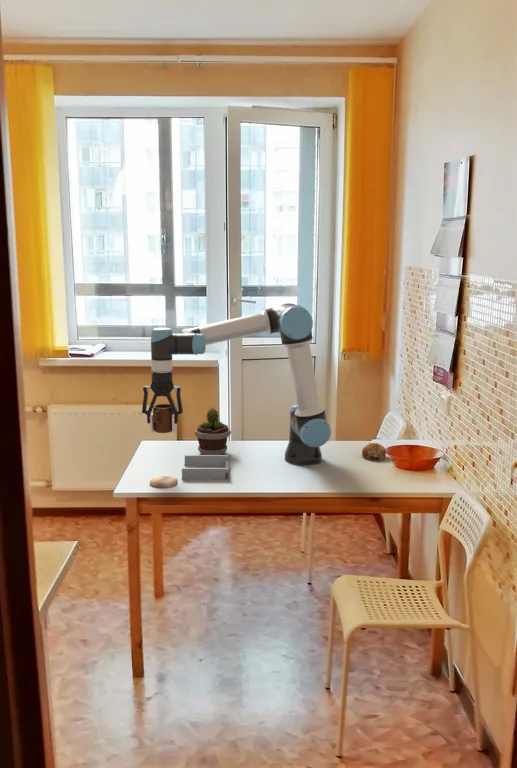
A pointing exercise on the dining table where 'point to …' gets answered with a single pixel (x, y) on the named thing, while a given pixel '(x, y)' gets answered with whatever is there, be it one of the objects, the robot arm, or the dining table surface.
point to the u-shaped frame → (206, 472)
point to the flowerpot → (212, 435)
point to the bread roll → (374, 452)
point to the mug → (162, 418)
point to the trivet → (163, 482)
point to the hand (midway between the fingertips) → (162, 431)
